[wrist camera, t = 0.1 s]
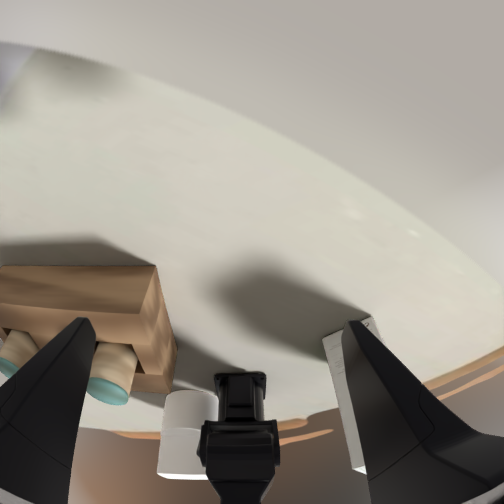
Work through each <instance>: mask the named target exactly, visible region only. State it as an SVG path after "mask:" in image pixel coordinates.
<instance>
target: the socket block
mask: <svg viewBox="0 0 504 504" xmlns="http://www.w3.org/2000/svg"><path fill="white" fill-rule="evenodd" d="M79 316H80V317H88V318H89V320H90V322H91V324H92V326H93V328H94V330H95V332H96V342H95V347H94V353H93V358H94V355H95V352H96V349H97V347H98V344H99V341H102V342H113V343H125V344H132V346H133V348H134V350H135V352H136V355H137V357H138V361H137V365H136V369H135V373H134V377H133V381H132V385H131V389H130V390H132V391H142V392H152V393H164V394H171V387H172V381H173V375H174V369H175V362H176V357H177V351H178V349H177V346H176V342H175V339H174V335H173V332H172V328H171V324H170V321H169V317H168V313H167V309H166V306H165V302H164V298H163V294H162V290H161V285H160V281H159V277H158V273H157V268H156V266H2V267H1V268H0V338H1V339H2V341H3V342H5V341H6V339H7V337H8V335H9V333H10V332H11V330H12V329H15V330H20V331H26V332H29V334H30V335H31V337H32V338H33V340H34V341H35V343H36V344H37V346H38V347H39V349H41V348H43V347H44V346H45V345H46V344H47V343H48V342H49V341H50V340H51V339H53V338H54V337H55V336H56V335H57V334H58V333H59V332H60V331H62V330H63V329H64V328H65V327H66V326H67V325H68V324H70V323H71V322H72V321H73V320H74V319H75V318H77V317H79Z"/></svg>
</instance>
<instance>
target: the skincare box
mask: <svg viewBox="0 0 504 504" xmlns="http://www.w3.org/2000/svg"><path fill="white" fill-rule="evenodd" d="M361 322H362V323H363V324H364V325H365V326H366V327H367V328H368V329H369V330H370V331H371V332H372V333H373V334H374V335H375V336H376V337H377V338H378V339H379V340H380V341H381V342H382V343H383V344H384V345H385V346H386V344H385V342H384V340H383V337H382V335H381V333H380V331H379V329H378V326H377V324H376V322H375V320H374V318H373V317H369V318H367V319H364V320H362V321H361ZM342 332H343V329H342V330H340V331H338V332H335V333H333V334H331V335H329V336H327V337H324V338H323V339H322V342H323V345H324V349H325V353H326V357H327V361H328V364H329V368H330V372H331V376H332V380H333V384H334V388H335V392H336V397H337V400H338V405H339V409H340V413H341V417H342V422H343V426H344V431H345V435H346V440H347V445H348V449H349V454H350V459H351V464H352V469H354V470H357V471H359V472H362V473H364V474H366V469H365V463H364V458H363V453H362V448H361V444H360V439H359V434H358V429H357V425H356V420H355V416H354V411H353V407H352V403H351V398H350V394H349V390H348V386H347V381H346V375H345V367H344V359H343V351H342V344H341V336H342ZM386 347H387V346H386Z"/></svg>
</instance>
